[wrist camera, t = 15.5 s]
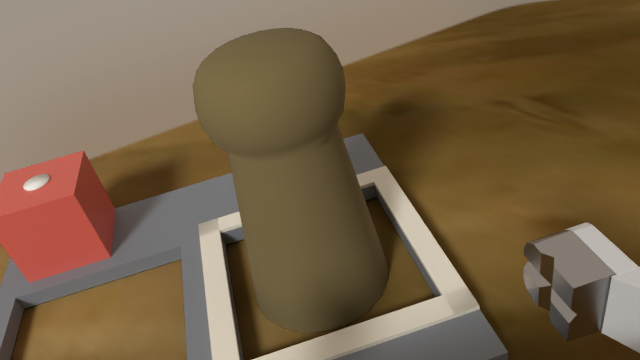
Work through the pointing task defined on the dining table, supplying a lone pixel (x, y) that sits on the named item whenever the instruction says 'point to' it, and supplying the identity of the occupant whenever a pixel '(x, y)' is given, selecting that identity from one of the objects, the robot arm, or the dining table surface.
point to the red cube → (55, 217)
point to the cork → (293, 177)
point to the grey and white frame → (216, 288)
